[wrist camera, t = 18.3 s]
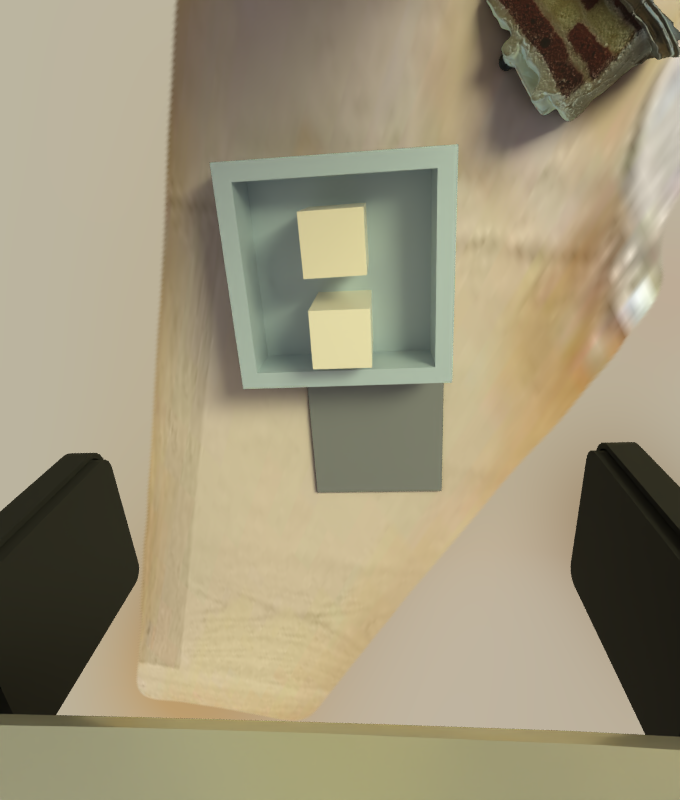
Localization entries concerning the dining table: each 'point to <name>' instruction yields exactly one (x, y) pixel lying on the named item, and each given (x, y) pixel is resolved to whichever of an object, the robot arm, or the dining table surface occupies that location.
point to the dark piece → (579, 46)
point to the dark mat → (377, 437)
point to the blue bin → (387, 276)
